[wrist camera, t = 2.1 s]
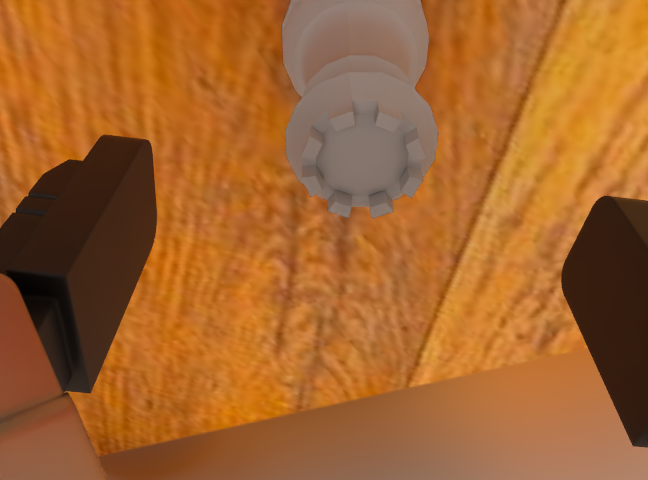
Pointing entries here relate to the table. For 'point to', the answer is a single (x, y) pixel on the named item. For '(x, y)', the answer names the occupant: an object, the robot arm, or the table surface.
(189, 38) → the table surface
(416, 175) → the rook chess piece
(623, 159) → the table surface
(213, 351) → the table surface
